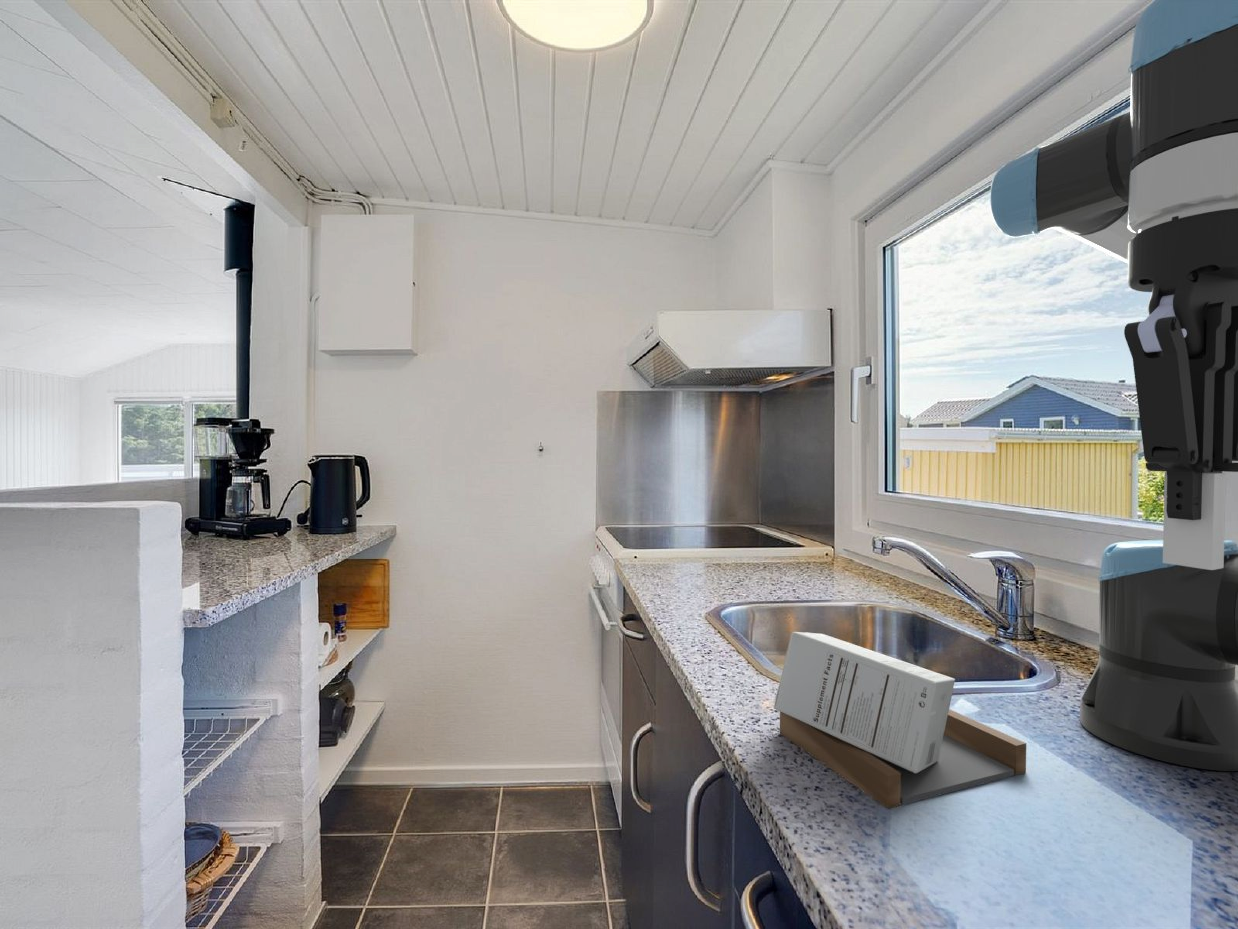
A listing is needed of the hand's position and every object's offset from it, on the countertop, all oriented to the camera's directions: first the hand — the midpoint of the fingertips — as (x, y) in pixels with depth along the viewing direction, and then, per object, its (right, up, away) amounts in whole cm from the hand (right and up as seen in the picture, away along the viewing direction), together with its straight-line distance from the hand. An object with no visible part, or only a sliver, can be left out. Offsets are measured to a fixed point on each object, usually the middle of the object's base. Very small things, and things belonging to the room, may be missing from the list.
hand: (1192, 565), depth 42 cm
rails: (-10, -24, +23) cm, 35 cm away
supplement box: (-8, -19, +17) cm, 27 cm away
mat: (-10, -24, +23) cm, 35 cm away
